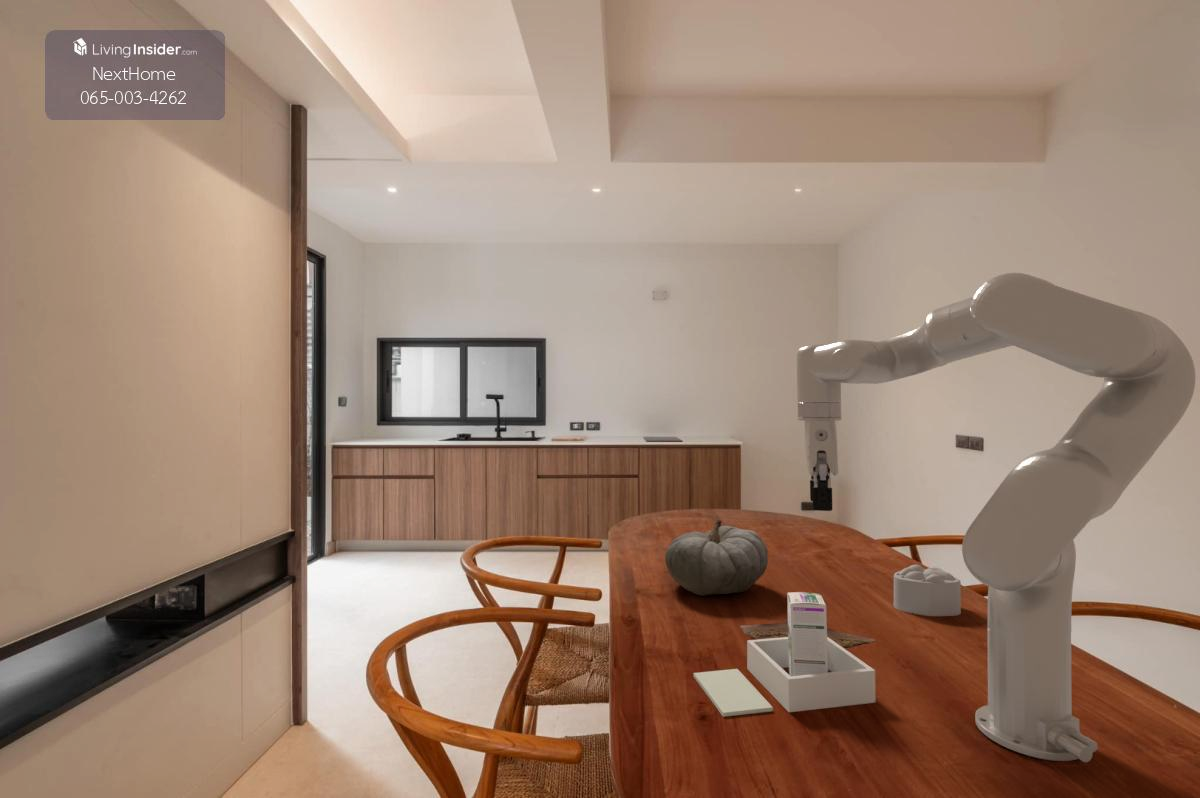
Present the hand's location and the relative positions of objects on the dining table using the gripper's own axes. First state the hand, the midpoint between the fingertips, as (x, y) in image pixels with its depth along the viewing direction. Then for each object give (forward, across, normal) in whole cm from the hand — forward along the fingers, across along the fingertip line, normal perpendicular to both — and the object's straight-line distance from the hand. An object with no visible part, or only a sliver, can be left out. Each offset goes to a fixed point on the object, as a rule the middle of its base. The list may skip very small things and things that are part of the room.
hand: (820, 505), depth 108 cm
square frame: (+28, -12, +3) cm, 30 cm away
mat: (+28, -18, +15) cm, 36 cm away
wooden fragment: (+28, +9, +3) cm, 30 cm away
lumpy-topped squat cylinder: (+28, +33, -23) cm, 49 cm away
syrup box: (+28, -12, +3) cm, 31 cm away
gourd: (+28, +34, +23) cm, 49 cm away
